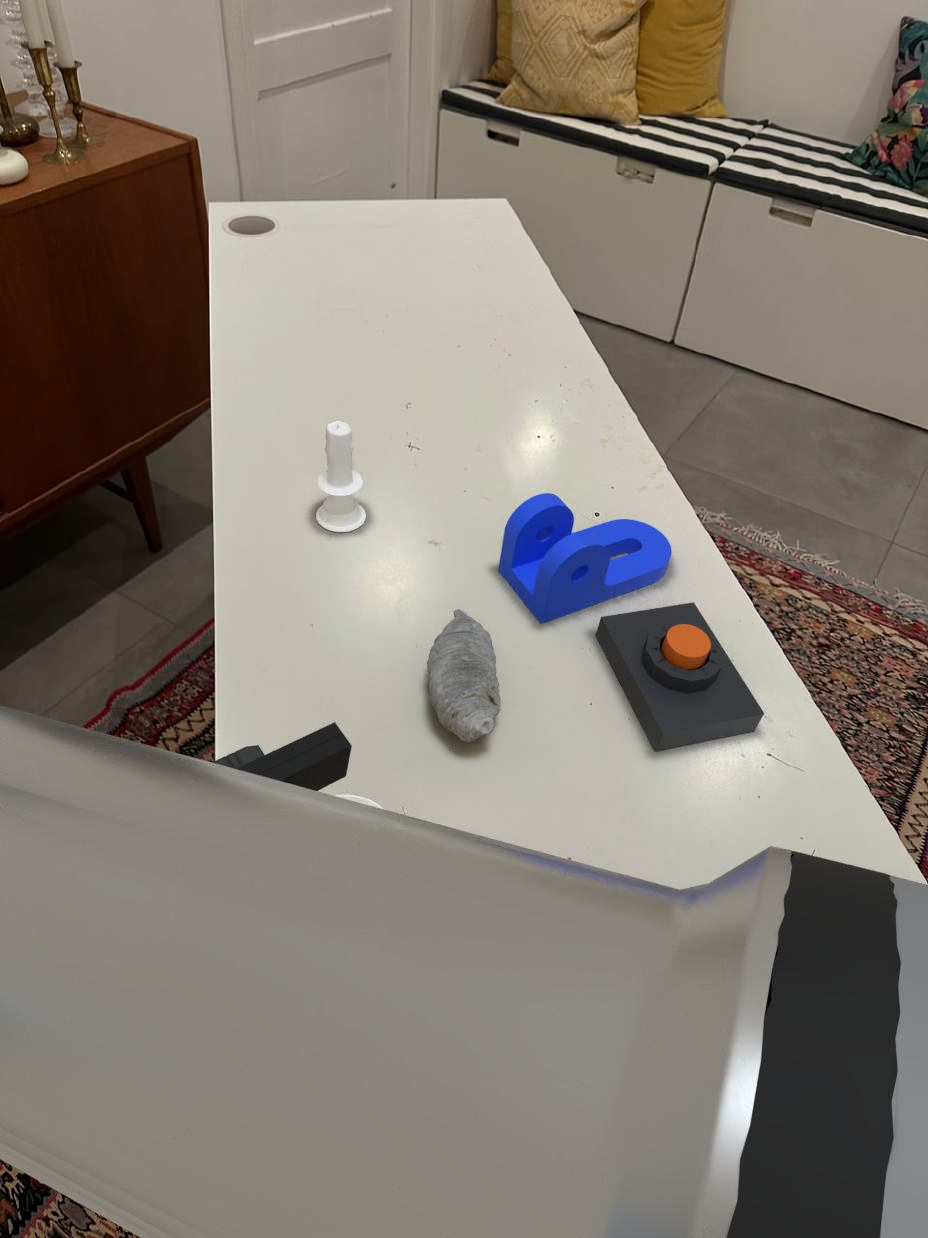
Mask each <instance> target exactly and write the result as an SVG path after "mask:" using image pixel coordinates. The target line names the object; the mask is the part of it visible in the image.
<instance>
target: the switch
mask: <svg viewBox="0 0 928 1238" xmlns="http://www.w3.org/2000/svg"><path fill="white" fill-rule="evenodd" d="M710 648H711V642H710V639H709V637H708V636H707V635H706V633H705V632H703V631H702V630H701V629H699V628H697V627H695V626H692V625H688V624H679V625H675V626H673V627H671V628H670V629H669V630H668V632H667V634H666V637H665V640H664V642H663V645H662V653H663V655H664V657H665V658H666V660H667V661H668V662H670V663H671V664H673V665H674V666H676V667H679V668H683V669H687V670H691V669H696V668H698V667H700V666H702V665H703V663H704V662H705V660H706V657H707V655H708V653H709V651H710Z"/></svg>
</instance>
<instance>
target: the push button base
mask: <svg viewBox="0 0 928 1238" xmlns="http://www.w3.org/2000/svg"><path fill="white" fill-rule="evenodd" d="M679 624H688V625H692V626H695V627H697V628H699V629H701V630H702V631H703V632H705V633H706V635H707V636H708V637H709V639H710V642H711V648H710V651H709V653H708V655H707V657H706V660H705V662H704V663H703V665H702V666H700V667H698V668H696V669H691V670H687V669H683V668H679V667H676V666H674V665H673V664H671V663H670V662H668V661H667V660H666V658H665V657H664V655H663V653H662V645H663V642H664V640H665V637H666V634H667V632H668V630H669V629H670V628H671V627H673V626H675V625H679ZM595 637H596V639H597V642H598V643H599V645H600V647H601V649H602V651H603V653H604V655H605V657H606V659H607V660H608V663H609V664H610V666H611V668H612V670H613V673H614V674H615V676H616V678H617V681H618V682H619V684H620V686H621V688H622V690H623V693H625V696H626V698H627V699H628V701H629V703H630V705H631V708H632V709H633V712H634V713H635V715H636V717H637V720H638V721H639V723H640V725H641V728H642V729H643V731H644V732H645V734H646V737H647V739H648V740H649V742H650V744H651V747H652V749H653V750H654V752H659V751H664V750H669V749H673V748H679V747H683V746H689V745H693V744H698V743H703V742H708V741H709V742H710V741H713V740H717V739H723V738H728V737H732V736H738V735H743V734H748V733H752V732H755V731H756V729H757V727H758V726H759V724H760V722H761V720H762V718H763V717H764V715H765V712H764V711H763V709H762V707H761V706H760V704H759V703H758V700H757V699H756V698H755V696H754V694H753V693H752V691H751V690H750V688H749V687H748V685H747V683H746V682H745V680H744V679H743V677H742V675H741V674H740V673H739V671H738V669H737V668H736V666H735V664H734V663H733V662H732V660H731V658H730V657H729V655H728V654H727V651H726V650H725V649H724V647H723V646H722V644H721V643H720V641H719V639H718V638H717V637H716V635H715V633H714V632H713V630H712V628H711V626H710V625H709V624H708V622H707V620H706V619H705V618H704V616H703V614H702V613H701V611H700V610H699V608H698V607H697V605H696V603H695V601H693V602H686V603H681V604H680V603H679V604H673V605H668V606H661V607H656V608H655V607H654V608H647V609H642V610H636V611H629V612H623V613H615V614H611V615H604V616H600V619H599V623H598V626H597V629H596V633H595Z"/></svg>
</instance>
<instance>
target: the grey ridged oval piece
mask: <svg viewBox="0 0 928 1238" xmlns="http://www.w3.org/2000/svg"><path fill="white" fill-rule="evenodd" d="M496 663H497V656H496V654H495V651H494V646H493V640H492V637H491V634H490V633H489V631H487V629H485V628H484V627H483V625H482V624H481V623H480V622H479V621H477V620H476V619H474V618H473V617H471V616H469V615H468V614H467V612H465V611H463V610H461V609H459V608H457V609H455V610H453V618H452V619H451V620H450V621H449V622H448V623H447V624H446V625H445V626H444V628H443V629H442V631H441V632H440V633H439V634H438V635H437V636H436V637H435V638H434V641H433V645H432V646H431V647H430V650H429V653H428V659H427V661H426V667H427V673H428V676H429V677H428V681H427V682H428V683H427V684H428V685H427V687H428V690H429V692H428V697H429V698H428V702H429V703H430V704H431V705H432V707H433V710H434V711H435V713H436V715H437V719H438V722H439V723H440V725H442V726H443V727H444V728H446V729H448V730H449V731H450V732H452V733H453V734H454V735H455V736H457V737H458V739H460V740H461V741H463V742H466V743H469V742H470V743H472V742H474V741H475V740H478V739H479V738H481V737H483V736H486V735H488V734H491V733H493V732H494V730H495V727H496V726H495V718H496V717H497V716H498V715H499V713H500V711H501V706H502V705H501V703H502V701H501V700H502V698H501V694H500V689H499V687H500V683H499V678H498V676H497V673H498V671H497V666H496V665H497V664H496Z"/></svg>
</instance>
